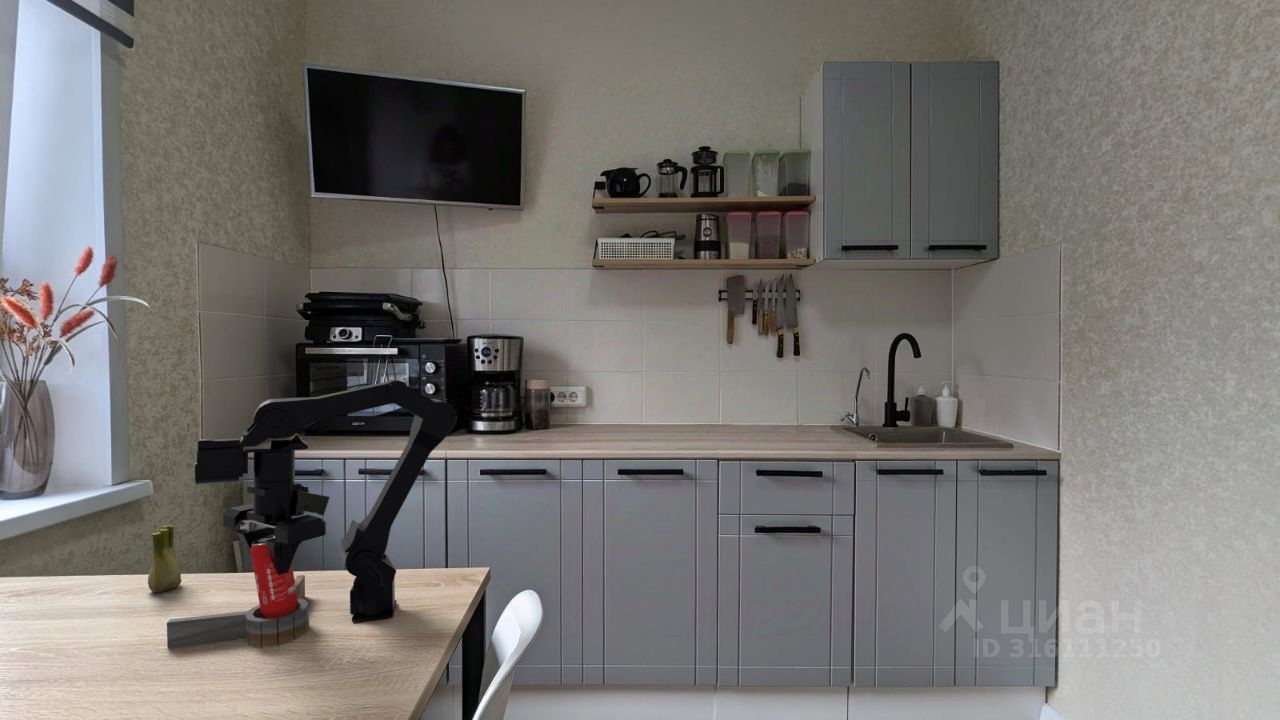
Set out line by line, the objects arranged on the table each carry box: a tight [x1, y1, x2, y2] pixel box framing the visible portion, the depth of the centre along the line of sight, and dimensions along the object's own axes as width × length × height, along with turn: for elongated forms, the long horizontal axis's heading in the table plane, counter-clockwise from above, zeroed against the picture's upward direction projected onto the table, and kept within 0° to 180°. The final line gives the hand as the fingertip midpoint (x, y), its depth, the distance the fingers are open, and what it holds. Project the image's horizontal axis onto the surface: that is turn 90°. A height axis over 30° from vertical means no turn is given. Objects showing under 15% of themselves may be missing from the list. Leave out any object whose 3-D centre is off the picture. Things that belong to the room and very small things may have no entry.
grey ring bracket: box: [166, 574, 310, 649], centre depth 104 cm, size 19×19×4 cm
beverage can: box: [250, 535, 298, 618], centre depth 99 cm, size 5×5×12 cm
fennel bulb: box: [147, 524, 182, 593], centre depth 118 cm, size 6×5×12 cm
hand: (273, 575), depth 99 cm, fingers closed on beverage can, 5 cm apart
